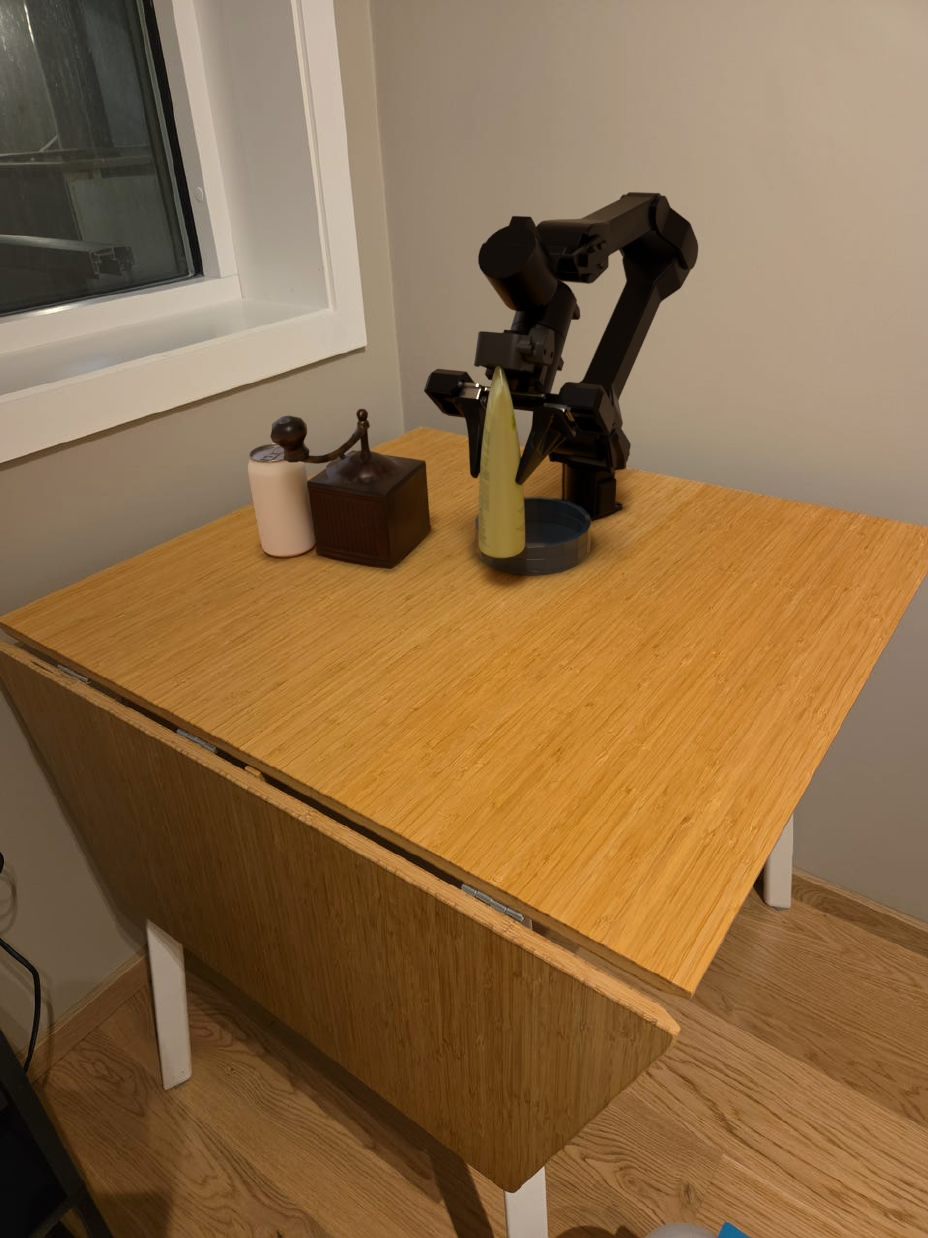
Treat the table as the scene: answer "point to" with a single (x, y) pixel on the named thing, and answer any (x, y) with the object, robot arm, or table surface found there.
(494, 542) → the tube
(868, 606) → the table surface
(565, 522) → the basin
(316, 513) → the manual coffee grinder
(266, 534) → the can
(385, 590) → the table surface
